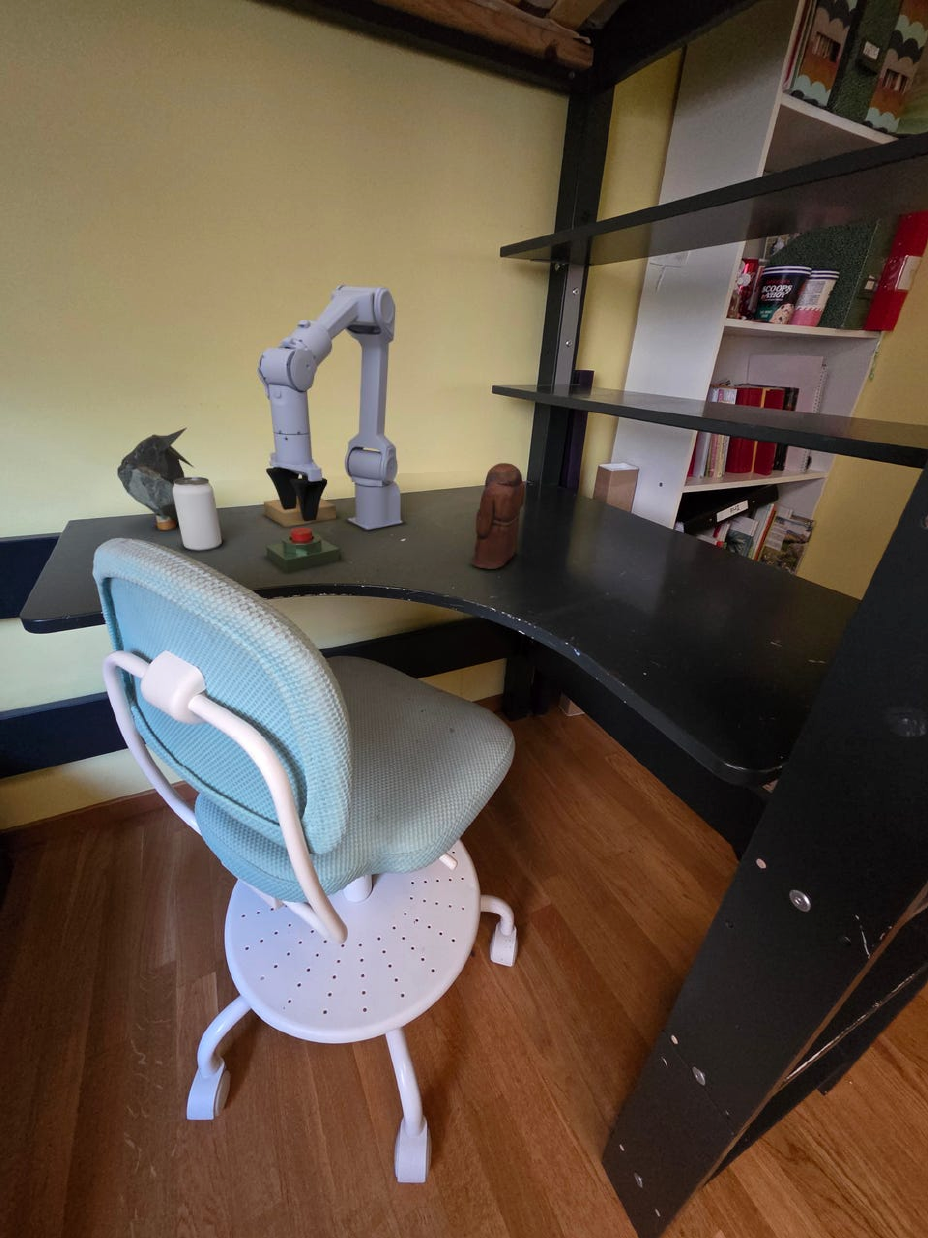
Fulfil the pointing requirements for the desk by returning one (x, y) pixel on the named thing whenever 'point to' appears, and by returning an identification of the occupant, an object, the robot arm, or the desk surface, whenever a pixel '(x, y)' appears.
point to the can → (197, 513)
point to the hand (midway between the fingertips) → (299, 514)
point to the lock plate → (297, 513)
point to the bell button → (301, 534)
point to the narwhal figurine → (154, 476)
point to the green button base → (302, 553)
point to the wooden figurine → (499, 516)
